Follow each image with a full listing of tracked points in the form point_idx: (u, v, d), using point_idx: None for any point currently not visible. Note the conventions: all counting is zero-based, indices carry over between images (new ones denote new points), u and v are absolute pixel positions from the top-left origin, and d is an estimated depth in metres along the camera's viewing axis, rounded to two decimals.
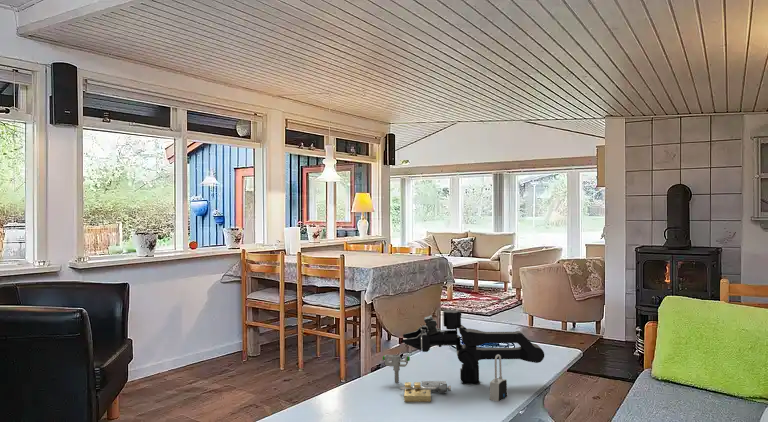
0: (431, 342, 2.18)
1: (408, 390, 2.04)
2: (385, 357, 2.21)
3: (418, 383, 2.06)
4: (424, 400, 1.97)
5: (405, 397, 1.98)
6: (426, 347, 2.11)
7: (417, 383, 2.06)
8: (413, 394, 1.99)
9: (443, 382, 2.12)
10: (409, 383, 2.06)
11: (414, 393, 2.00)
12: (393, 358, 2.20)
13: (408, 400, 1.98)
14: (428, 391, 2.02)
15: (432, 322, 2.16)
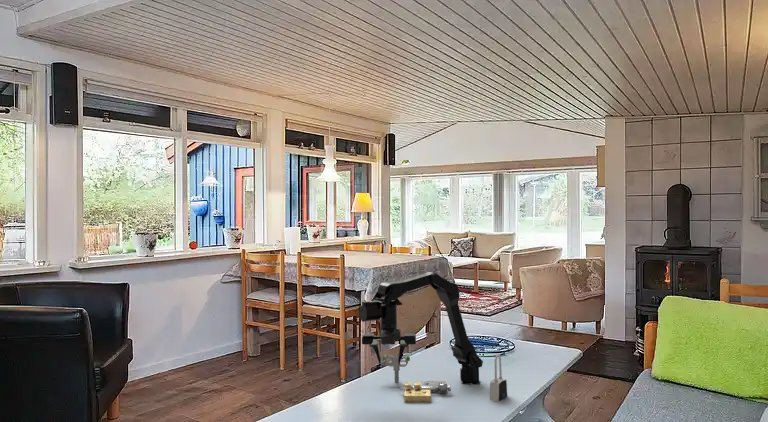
0: None
1: (408, 390, 2.04)
2: (385, 357, 2.21)
3: (418, 383, 2.06)
4: (424, 400, 1.97)
5: (405, 397, 1.98)
6: None
7: (417, 383, 2.06)
8: (413, 394, 1.99)
9: (443, 382, 2.12)
10: (409, 383, 2.06)
11: (414, 393, 2.00)
12: (393, 358, 2.20)
13: (408, 400, 1.98)
14: (428, 391, 2.02)
15: (400, 334, 1.95)
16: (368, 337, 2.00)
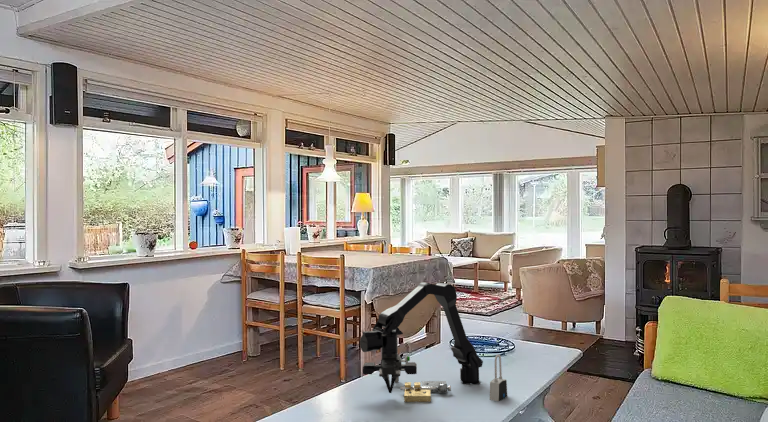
0: None
1: (408, 390, 2.04)
2: None
3: (418, 383, 2.06)
4: (424, 400, 1.97)
5: (405, 397, 1.98)
6: None
7: (417, 383, 2.06)
8: (413, 394, 1.99)
9: (443, 382, 2.12)
10: (409, 383, 2.06)
11: (414, 393, 2.00)
12: None
13: (408, 400, 1.98)
14: (428, 391, 2.02)
15: (401, 365, 1.95)
16: (369, 367, 2.00)
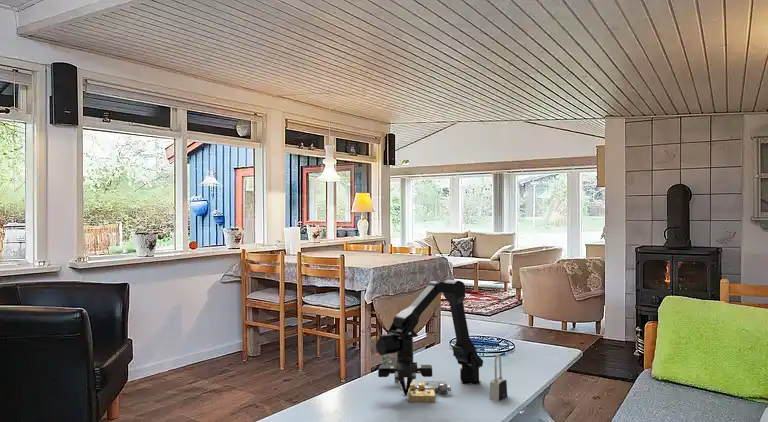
0: None
1: (412, 390, 2.03)
2: (385, 357, 2.21)
3: (422, 383, 2.06)
4: (428, 400, 1.97)
5: (409, 397, 1.98)
6: None
7: (421, 383, 2.06)
8: (417, 394, 1.99)
9: (443, 382, 2.12)
10: (413, 383, 2.06)
11: (418, 393, 2.00)
12: (393, 358, 2.20)
13: (412, 400, 1.98)
14: (432, 391, 2.02)
15: (417, 368, 1.95)
16: (384, 370, 2.00)
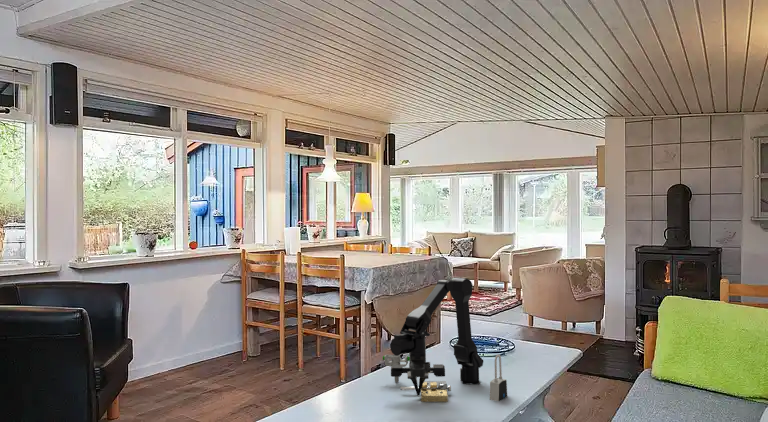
0: None
1: (424, 390, 2.03)
2: (385, 357, 2.21)
3: (434, 383, 2.06)
4: (441, 400, 1.97)
5: (422, 397, 1.97)
6: None
7: (433, 383, 2.06)
8: (429, 394, 1.98)
9: (443, 382, 2.12)
10: (425, 383, 2.06)
11: (430, 393, 2.00)
12: (393, 358, 2.20)
13: (425, 400, 1.97)
14: (445, 391, 2.02)
15: (430, 367, 1.95)
16: (397, 369, 2.00)
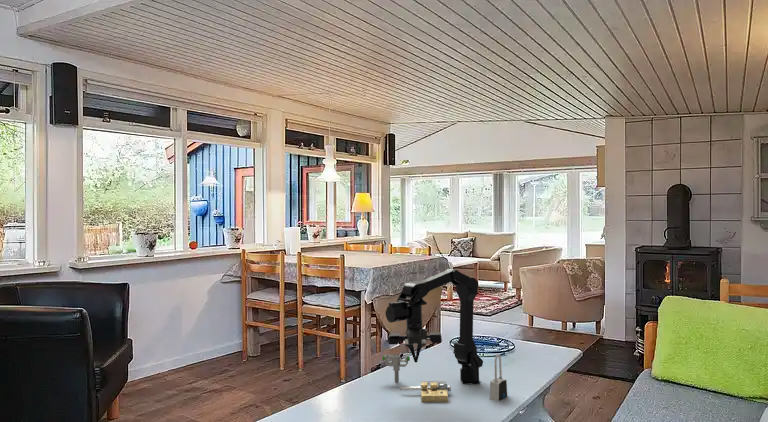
0: None
1: (425, 390, 2.03)
2: (385, 357, 2.21)
3: (434, 383, 2.06)
4: (441, 400, 1.97)
5: (422, 397, 1.97)
6: None
7: (433, 383, 2.06)
8: (430, 394, 1.98)
9: (443, 382, 2.12)
10: (425, 383, 2.06)
11: (431, 393, 2.00)
12: (393, 358, 2.20)
13: (425, 400, 1.97)
14: (445, 391, 2.02)
15: None
16: (394, 337, 2.03)
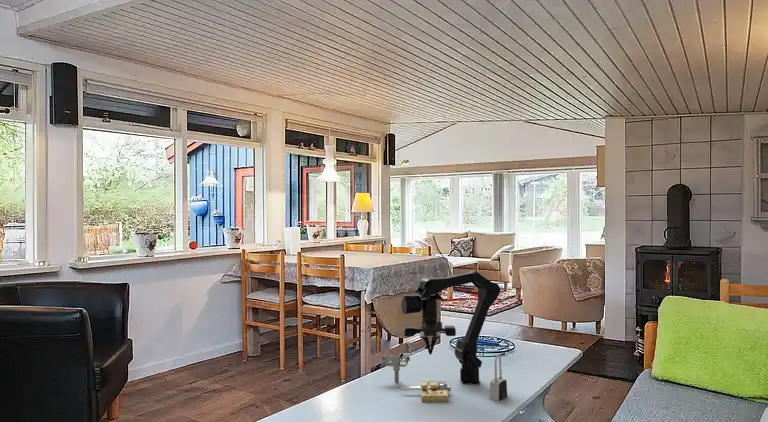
0: None
1: (425, 390, 2.03)
2: (385, 357, 2.21)
3: (434, 383, 2.06)
4: (441, 400, 1.97)
5: (422, 397, 1.97)
6: None
7: (433, 383, 2.06)
8: (430, 394, 1.98)
9: (443, 382, 2.12)
10: (425, 383, 2.06)
11: (431, 393, 2.00)
12: (393, 358, 2.20)
13: (425, 400, 1.97)
14: (445, 391, 2.02)
15: None
16: (410, 329, 2.12)
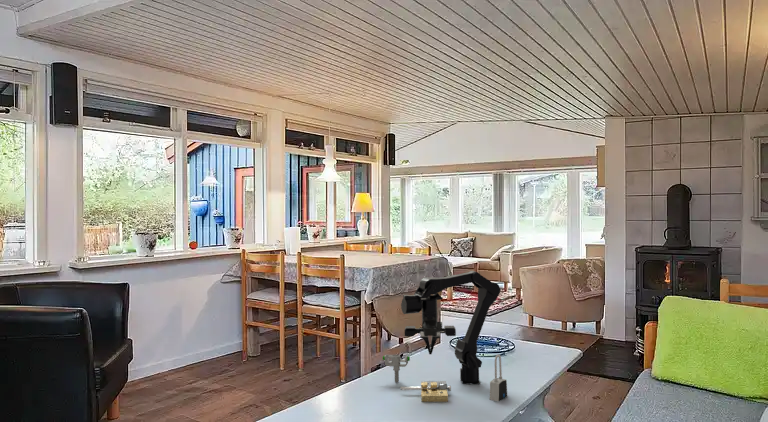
0: None
1: (425, 390, 2.03)
2: (385, 357, 2.21)
3: (434, 383, 2.06)
4: (441, 400, 1.97)
5: (422, 397, 1.97)
6: None
7: (433, 383, 2.06)
8: (430, 394, 1.98)
9: (443, 382, 2.12)
10: (425, 383, 2.06)
11: (431, 393, 2.00)
12: (393, 358, 2.20)
13: (425, 400, 1.97)
14: (445, 391, 2.02)
15: None
16: (410, 329, 2.12)
